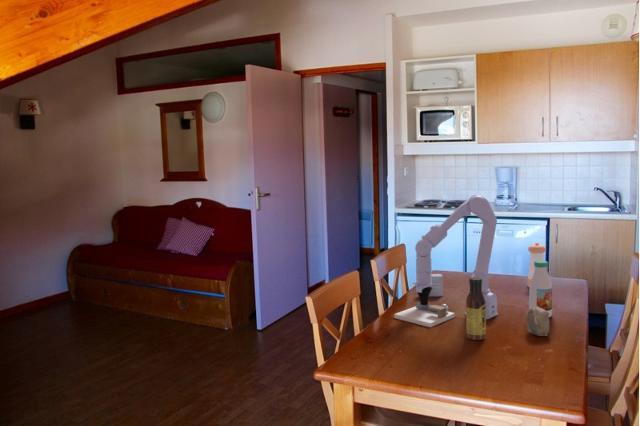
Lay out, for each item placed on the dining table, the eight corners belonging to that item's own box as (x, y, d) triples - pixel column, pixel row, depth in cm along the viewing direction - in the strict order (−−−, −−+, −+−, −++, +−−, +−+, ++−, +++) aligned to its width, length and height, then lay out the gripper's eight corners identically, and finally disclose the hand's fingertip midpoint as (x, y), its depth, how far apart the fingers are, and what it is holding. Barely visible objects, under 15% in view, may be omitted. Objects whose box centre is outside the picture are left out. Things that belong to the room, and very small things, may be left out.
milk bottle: (527, 317, 202) (528, 263, 200) (530, 311, 209) (531, 258, 207) (550, 319, 199) (551, 264, 196) (552, 313, 206) (553, 260, 203)
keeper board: (454, 317, 206) (454, 304, 205) (430, 327, 195) (430, 314, 195) (419, 308, 217) (419, 296, 217) (394, 317, 207) (394, 305, 206)
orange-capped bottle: (527, 288, 240) (528, 244, 237) (526, 284, 247) (527, 241, 244) (546, 289, 238) (547, 244, 235) (544, 284, 245) (545, 241, 242)
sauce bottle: (486, 341, 180) (486, 281, 178) (466, 340, 182) (466, 280, 179) (485, 334, 187) (485, 276, 184) (465, 333, 188) (465, 275, 185)
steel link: (449, 312, 206) (449, 304, 206) (446, 314, 204) (445, 306, 203) (419, 306, 214) (419, 299, 213) (415, 308, 211) (415, 301, 211)
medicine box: (441, 293, 237) (441, 273, 235) (443, 296, 232) (442, 276, 231) (422, 294, 237) (422, 274, 236) (423, 297, 233) (423, 276, 232)
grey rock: (535, 344, 182) (531, 319, 179) (520, 332, 190) (515, 308, 187) (560, 333, 184) (556, 308, 180) (544, 321, 192) (539, 297, 188)
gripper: (418, 266, 219) (419, 299, 221) (407, 274, 206) (408, 310, 208) (436, 267, 216) (437, 301, 218) (426, 276, 203) (426, 312, 205)
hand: (424, 306), depth 212 cm, fingers closed, pressing on steel link
